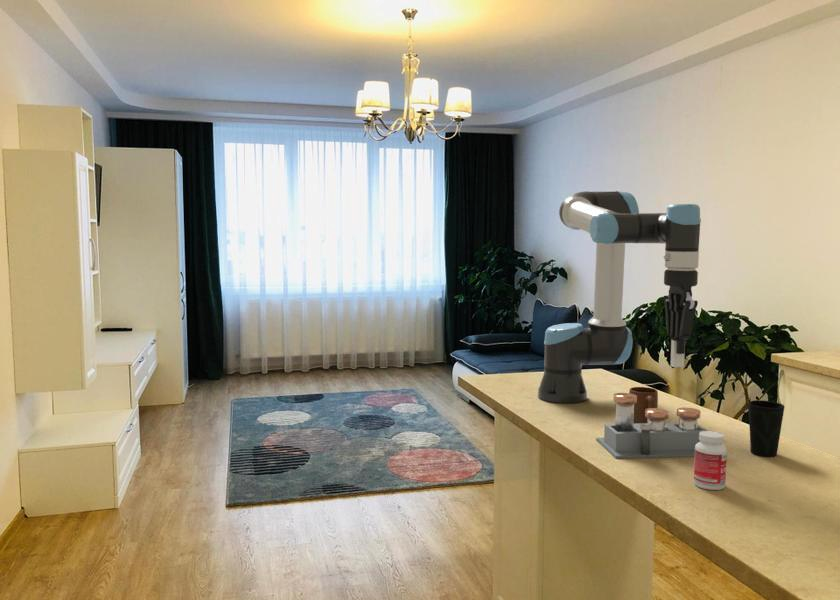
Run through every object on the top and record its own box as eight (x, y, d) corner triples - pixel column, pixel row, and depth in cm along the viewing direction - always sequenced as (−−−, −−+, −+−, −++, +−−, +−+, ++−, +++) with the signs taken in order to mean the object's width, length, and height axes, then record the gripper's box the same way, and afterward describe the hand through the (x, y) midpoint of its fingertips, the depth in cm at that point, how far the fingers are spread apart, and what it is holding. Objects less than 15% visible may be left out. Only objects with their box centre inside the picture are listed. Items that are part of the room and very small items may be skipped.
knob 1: (609, 426, 170) (610, 393, 169) (630, 425, 171) (631, 392, 170) (617, 432, 165) (618, 398, 164) (639, 432, 165) (640, 398, 164)
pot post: (637, 451, 164) (638, 423, 163) (648, 451, 164) (649, 423, 163) (641, 455, 161) (642, 427, 160) (652, 455, 161) (653, 426, 161)
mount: (596, 440, 175) (596, 420, 174) (691, 438, 177) (692, 419, 176) (615, 458, 161) (616, 437, 160) (719, 455, 163) (720, 435, 162)
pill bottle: (725, 492, 140) (728, 439, 139) (693, 488, 142) (695, 436, 141) (724, 482, 146) (726, 431, 145) (693, 478, 148) (695, 428, 147)
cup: (738, 450, 166) (741, 402, 165) (761, 446, 169) (764, 399, 168) (765, 460, 159) (768, 409, 158) (789, 456, 162) (792, 406, 161)
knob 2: (671, 440, 172) (673, 407, 171) (692, 440, 172) (694, 407, 171) (681, 447, 166) (682, 413, 165) (703, 446, 167) (704, 413, 166)
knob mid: (640, 441, 171) (641, 408, 170) (661, 440, 172) (662, 407, 171) (649, 448, 166) (650, 414, 165) (671, 447, 166) (672, 413, 165)
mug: (666, 431, 182) (667, 397, 181) (637, 431, 182) (638, 397, 181) (651, 419, 194) (652, 386, 193) (624, 419, 194) (625, 386, 193)
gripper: (654, 267, 171) (650, 361, 173) (678, 271, 158) (674, 372, 160) (683, 267, 171) (679, 360, 174) (710, 270, 158) (705, 371, 161)
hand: (677, 366), depth 167 cm, fingers closed
